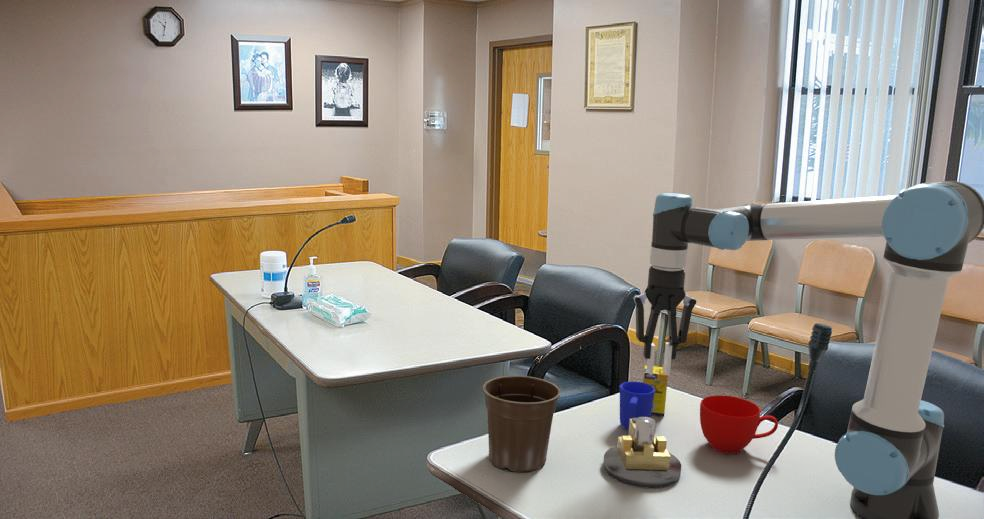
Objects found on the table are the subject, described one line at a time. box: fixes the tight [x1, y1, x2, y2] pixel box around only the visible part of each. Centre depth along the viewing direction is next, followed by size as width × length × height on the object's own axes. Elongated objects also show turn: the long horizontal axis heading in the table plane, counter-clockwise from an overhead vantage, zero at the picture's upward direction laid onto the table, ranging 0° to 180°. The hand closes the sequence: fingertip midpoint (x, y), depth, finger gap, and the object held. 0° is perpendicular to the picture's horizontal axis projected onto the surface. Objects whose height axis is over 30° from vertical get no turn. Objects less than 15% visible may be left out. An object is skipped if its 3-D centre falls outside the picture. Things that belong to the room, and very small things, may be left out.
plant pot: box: [482, 375, 562, 473], centre depth 165 cm, size 16×16×16 cm
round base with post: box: [602, 417, 682, 489], centre depth 163 cm, size 16×16×11 cm
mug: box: [619, 380, 655, 431], centre depth 183 cm, size 8×12×10 cm
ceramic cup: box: [699, 394, 779, 455], centre depth 175 cm, size 13×17×10 cm
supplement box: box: [642, 364, 669, 417], centre depth 195 cm, size 6×6×11 cm
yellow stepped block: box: [616, 418, 670, 470], centre depth 165 cm, size 14×9×5 cm, turn 2°
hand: (658, 372), depth 169 cm, fingers open, 3 cm apart
